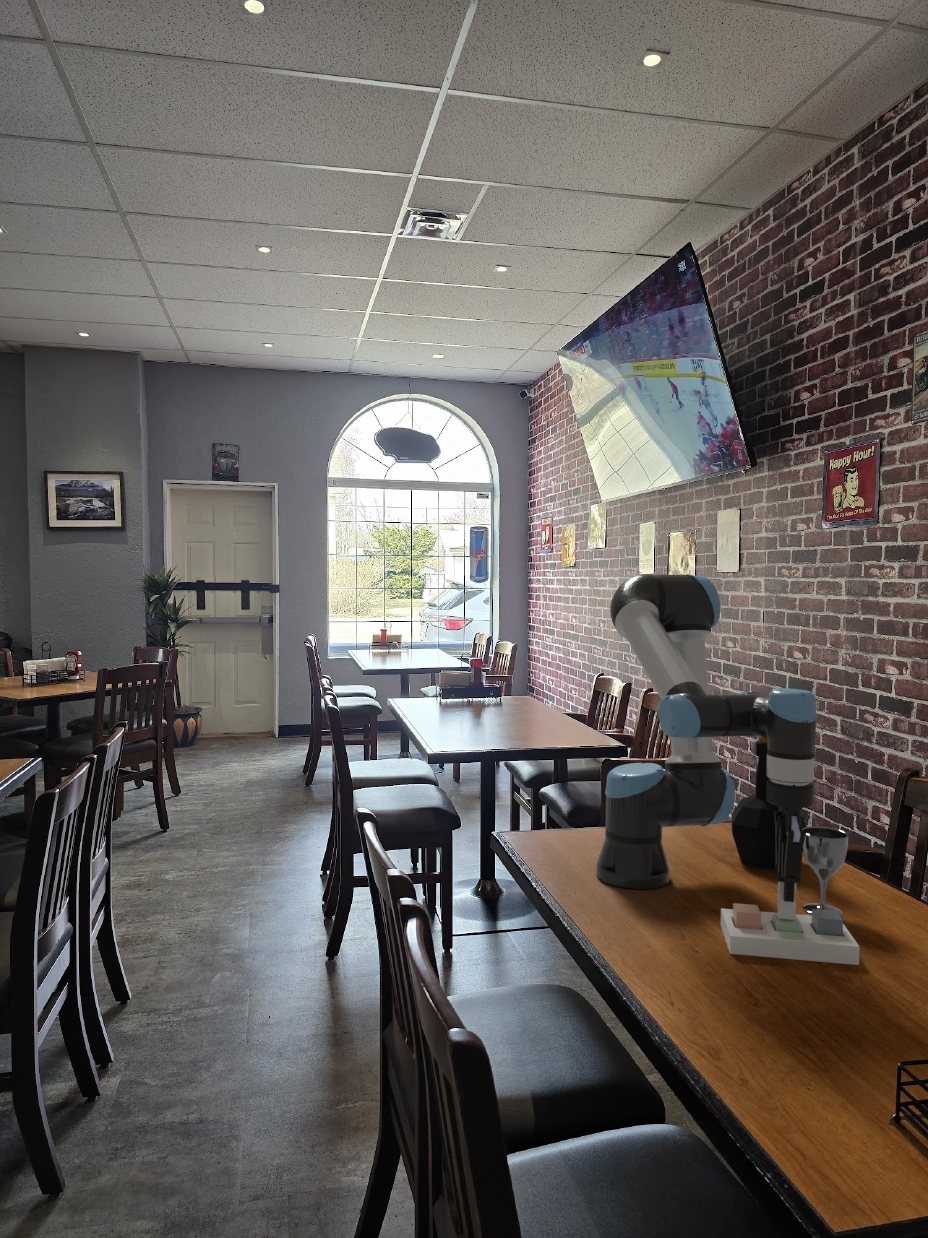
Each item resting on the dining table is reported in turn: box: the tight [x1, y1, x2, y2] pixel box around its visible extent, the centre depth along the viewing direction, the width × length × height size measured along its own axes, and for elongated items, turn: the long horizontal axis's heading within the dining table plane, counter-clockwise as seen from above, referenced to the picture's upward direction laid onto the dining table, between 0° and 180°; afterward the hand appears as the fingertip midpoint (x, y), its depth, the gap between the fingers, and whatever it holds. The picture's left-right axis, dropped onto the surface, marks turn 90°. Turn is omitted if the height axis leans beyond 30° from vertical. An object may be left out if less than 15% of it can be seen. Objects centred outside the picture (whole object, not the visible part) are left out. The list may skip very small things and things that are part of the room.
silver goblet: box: [802, 825, 849, 918], centre depth 154 cm, size 8×8×15 cm
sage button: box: [772, 914, 802, 933], centre depth 139 cm, size 4×4×3 cm
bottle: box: [730, 736, 808, 870], centre depth 182 cm, size 16×16×30 cm
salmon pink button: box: [732, 902, 762, 930], centre depth 140 cm, size 4×4×3 cm
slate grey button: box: [811, 909, 844, 936], centre depth 138 cm, size 4×4×3 cm
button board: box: [720, 908, 860, 966], centre depth 139 cm, size 20×12×3 cm, turn 80°
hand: (786, 917), depth 139 cm, fingers closed
